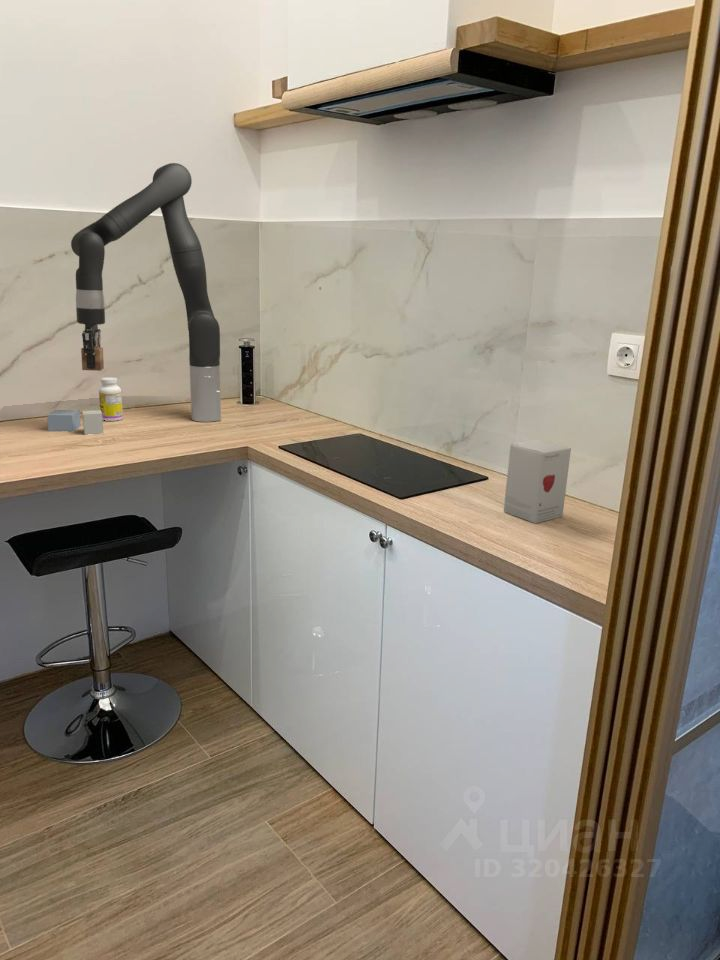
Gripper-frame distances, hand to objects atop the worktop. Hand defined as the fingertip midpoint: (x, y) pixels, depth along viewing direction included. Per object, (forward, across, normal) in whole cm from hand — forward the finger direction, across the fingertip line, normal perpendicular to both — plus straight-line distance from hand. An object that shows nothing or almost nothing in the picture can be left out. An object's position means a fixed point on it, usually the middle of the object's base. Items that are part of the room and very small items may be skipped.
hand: (93, 366), depth 208 cm
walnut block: (+1, 0, 0) cm, 1 cm away
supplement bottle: (+18, +13, -2) cm, 23 cm away
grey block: (+18, -5, 0) cm, 19 cm away
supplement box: (+16, -82, -103) cm, 133 cm away
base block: (+19, 0, +9) cm, 21 cm away
